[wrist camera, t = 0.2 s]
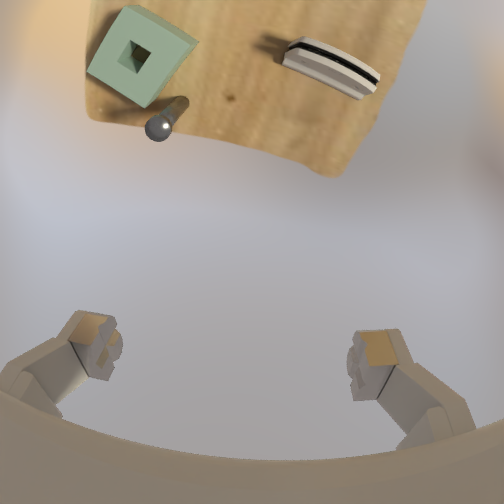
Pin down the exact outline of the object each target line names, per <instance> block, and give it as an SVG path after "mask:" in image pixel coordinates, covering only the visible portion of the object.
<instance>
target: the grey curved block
mask: <svg viewBox="0 0 504 504" xmlns="http://www.w3.org/2000/svg"><path fill="white" fill-rule="evenodd" d="M288 47H289V49H290V50H289V51H287V52H285V55H284V60H283V62H282V65H283V66H285V67H288V68H290V69H293V70H295V71H298V72H300V73H302V74H305V75H307V76H309V77H312V78H314V79H316V80H318V81H320V82H323V83H325V84H327V85H329V86H331V87H333V88H335V89H337V90H339V91H341V92H343V93H345V94H347V95H349V96H351V97H353V98H355V99H357V100H361V99H362V98H363V97H364V96H365V95H368V94H371V93H374V91H375V90H376V88H377V87H376V83H377V82H379V80H380V74H378V73H377V72H376V71H375V70H373V69H372V68H370V67H369V66H367V65H366V64H364V63H363V62H361V61H360V60H358V59H356V58H354V57H353V56H351V55H349V54H347V53H345V52H343V51H341V50H339V49H337V48H335V47H332V46H330V45H328V44H325V43H323V42H320V41H317V40H314V39H311V38H308V37H304V36H302V37H300V38H298V39H296V40H294V41H292V42H291V43H290V44H289V46H288Z"/></svg>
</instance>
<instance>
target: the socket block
mask: <svg viewBox="0 0 504 504" xmlns="http://www.w3.org/2000/svg"><path fill="white" fill-rule="evenodd" d="M198 43H199V41H197V40H196V39H194V38H193V37H191V36H190V35H188V34H187V33H185V32H184V31H182V30H181V29H179V28H177V27H176V26H174V25H173V24H171V23H169V22H168V21H166V20H164V19H163V18H161V17H159V16H158V15H156V14H154V13H152V12H151V11H149V10H147V9H145V8H143V7H142V6H140V5H130V6H124V7H123V9H122V10H121V12H120V14H119V15H118V17H117V18H116V20H115V21H114V23H113V24H112V26H111V28H110V29H109V31H108V33H107V34H106V36H105V38H104V40H103V41H102V43H101V45H100V47H99V48H98V50H97V52H96V54H95V56H94V58H93V60H92V62H91V63H90V65H89V67H88V69H87V71H86V72H88V73H90V74H91V75H93V76H95V77H96V78H98V79H99V80H101V81H103V82H104V83H106V84H107V85H109V86H111V87H112V88H114V89H115V90H117V91H118V92H120V93H122V94H123V95H125V96H126V97H128V98H129V99H131V100H132V101H134V102H135V103H137V104H138V105H140V106H141V107H143V108H144V109H145V108H146V107H147V106H148V105H149V104H151V103H152V102H153V101H154V100H155V99H156V98H157V97H158V95H159V94H160V92H161V91H162V90H163V88H164V87H165V85H166V84H167V83H168V81H169V80H170V78H171V77H172V76H173V74H174V73H175V72H176V70H177V69H178V68H179V66H180V65H181V64H182V63H183V61H184V60H185V59H186V58H187V56H188V55H189V54H190V53H191V51H192V50H193V49H194V48H195V46H196V45H197V44H198ZM138 45H140V46H141V47H143V48H145V49H146V50H148V51H149V52H151V54H150V56H149V57H148V59H147V60H146V62H145V63H144V64H143V63H141V62H140V61H138V60H137V59H135V58H133V57H132V56H131V55H132V53H133V52H134V50H135V49H136V47H137V46H138Z"/></svg>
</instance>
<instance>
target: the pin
mask: <svg viewBox="0 0 504 504" xmlns="http://www.w3.org/2000/svg"><path fill="white" fill-rule="evenodd" d="M188 107H189V100H188V98H186V97H185V96H178V97H177V98H176V99H175V100H173V101H172V102H171V103H170V104H169V105H168V106H167V107H166V108H165V109H164V110H163V111H162V112H161V113H160V114H159V115H155V116H153V117H151V118H150V119H149V120H148V121H147V123H146V125H145V132H146V135H147V136H148V137H149V138H150V139H151V140H153V141H157V142H161V141H164V140H165V139H167V138H168V137H169V135H170V134H171V132H172V126H173V125H174V123H175V122H176V121H177V120H178V119H179V117H180V116H181V115H182V114H183V113H184V111H185V110H186V109H187V108H188Z"/></svg>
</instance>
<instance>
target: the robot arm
mask: <svg viewBox="0 0 504 504" xmlns="http://www.w3.org/2000/svg"><path fill="white" fill-rule="evenodd" d="M116 326H117V323H116V320H115V317H113V316H110V315H104V314H99V313H94V312H87V311H81V310H78V311H75V313H74V314H73V315H72V317H71V318H70V319H69V321H68V322H67V323H66V325H65V326H64V327H63V329H62V330H61V332H60V333H59V334H58V336H57V337H56V338H51V339H49V340H47V341H46V342H44V343H42V344H40V345H38V346H37V347H35V348H33V349H31V350H29V351H28V352H26V353H24V354H22V355H20V356H19V357H17V358H15V359H13V360H12V361H10V362H8V363H7V364H6V366H5V367H4V369H3V370H2V372H1V373H0V504H504V419H502V420H499V421H497V422H494V423H492V424H489V425H486V426H484V427H481V428H479V429H476V426H475V424H474V421H473V419H472V416H471V413H470V411H469V408H468V406H467V403H466V402H465V399H464V398H462V397H461V396H460V395H458V394H457V393H456V392H455V391H453V390H452V389H451V388H449V387H448V386H447V385H446V384H444V383H443V382H442V381H440V380H439V379H438V378H437V377H435V376H434V375H433V374H431V373H430V372H429V371H427V370H426V369H425V368H423V367H422V366H421V365H420V364H418V363H414V362H413V360H412V357H411V355H410V352H409V350H408V348H407V346H406V343H405V341H404V339H403V336H402V334H401V332H400V330H399V329H385V330H361V331H360V330H359V331H356V332H355V334H354V336H353V343H354V345H353V346H352V347H351V348H350V349H349V352H348V355H347V371H348V375H349V376H350V377H351V378H352V379H353V380H352V382H351V385H350V386H351V391H352V395H353V400H354V401H363V400H377V402H378V403H379V404H380V405H381V406H382V407H383V408H384V409H385V411H386V412H387V413H388V414H389V415H390V416H391V417H392V419H394V421H395V422H396V423H397V424H398V425H399V426H400V427H401V428H402V430H403V431H404V432H405V433H406V434H407V436H406V437H405V438H404V439H403V440H402V441H401V442H400V443H399V445H398V446H397V447H396V451H390V452H384V453H378V454H371V455H364V456H356V457H346V458H335V459H322V460H293V461H291V460H290V461H289V460H286V461H285V460H283V461H282V460H281V461H279V460H251V459H236V458H225V457H215V456H207V455H199V454H192V453H186V452H180V451H174V450H169V449H164V448H159V447H154V446H149V445H145V444H141V443H137V442H132V441H129V440H125V439H121V438H118V437H114V436H111V435H107V434H104V433H100V432H97V431H94V430H91V429H88V428H85V427H82V426H80V425H77V424H74V423H71V422H69V421H66V420H63V419H62V417H63V416H62V413H61V412H60V411H59V410H58V408H57V407H56V406H55V405H56V404H57V403H59V402H60V401H61V400H62V399H63V398H65V397H66V396H67V395H68V394H70V393H71V392H72V391H73V390H75V389H76V388H77V387H78V386H79V385H81V384H82V383H83V382H84V381H85V380H87V379H88V378H89V377H92V378H96V379H100V380H105V381H108V380H109V378H110V376H111V374H112V372H113V370H114V368H115V367H114V364H113V362H114V361H116V360H117V359H119V357H120V355H121V353H122V347H123V342H122V337H121V334H120V333H119V332H118V331H117V330H116V329H115V328H116Z"/></svg>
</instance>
